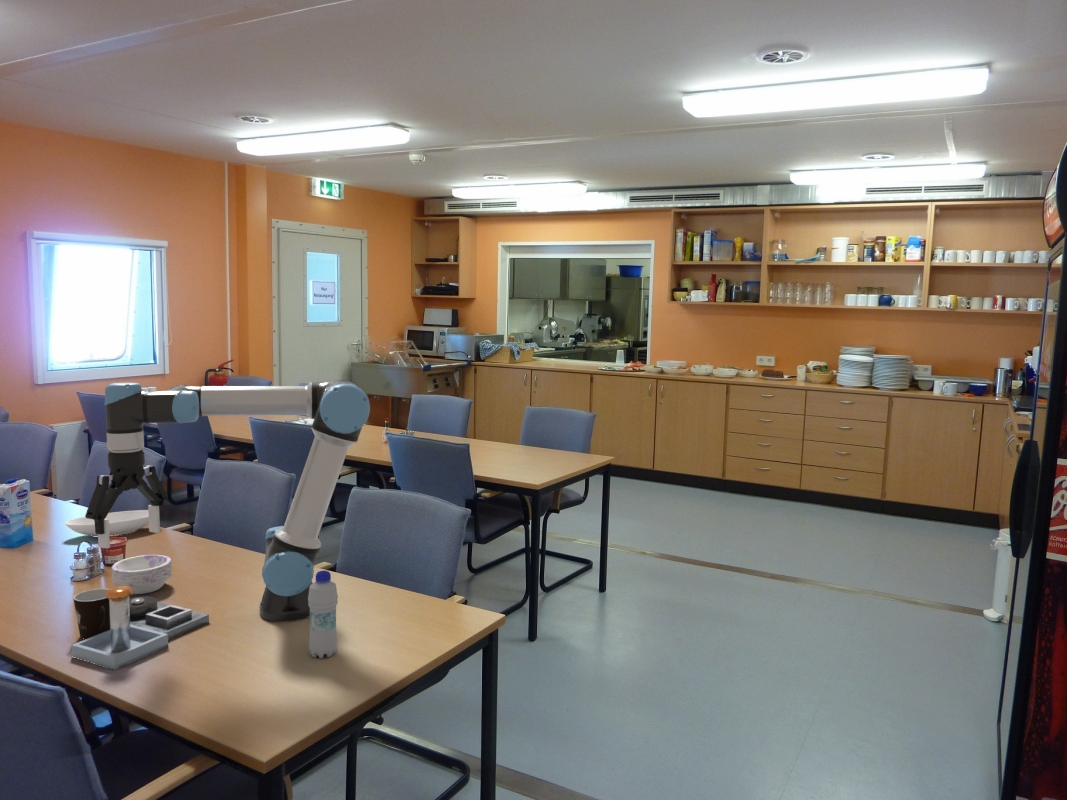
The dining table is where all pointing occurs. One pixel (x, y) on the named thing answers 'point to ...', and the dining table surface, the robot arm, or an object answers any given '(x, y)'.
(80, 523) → the bowl
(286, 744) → the dining table surface
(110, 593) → the pin
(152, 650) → the tray
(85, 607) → the coffee mug
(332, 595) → the bottle
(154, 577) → the paper bowls
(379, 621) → the dining table surface
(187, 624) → the plate
